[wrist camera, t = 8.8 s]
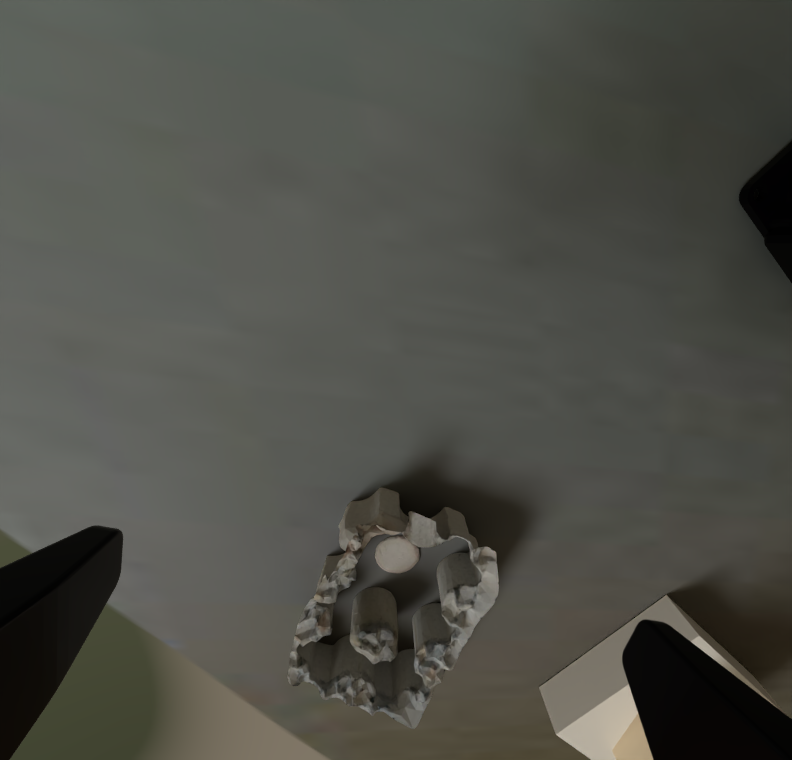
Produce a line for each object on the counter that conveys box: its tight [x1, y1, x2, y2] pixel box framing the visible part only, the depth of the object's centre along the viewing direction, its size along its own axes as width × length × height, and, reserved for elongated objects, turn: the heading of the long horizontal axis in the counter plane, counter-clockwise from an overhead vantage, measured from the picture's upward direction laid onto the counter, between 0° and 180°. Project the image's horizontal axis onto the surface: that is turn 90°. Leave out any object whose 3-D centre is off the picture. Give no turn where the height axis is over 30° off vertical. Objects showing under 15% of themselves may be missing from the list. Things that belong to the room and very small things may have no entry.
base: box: [539, 595, 785, 760], centre depth 24 cm, size 9×9×2 cm
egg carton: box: [287, 487, 499, 729], centre depth 21 cm, size 11×8×4 cm
